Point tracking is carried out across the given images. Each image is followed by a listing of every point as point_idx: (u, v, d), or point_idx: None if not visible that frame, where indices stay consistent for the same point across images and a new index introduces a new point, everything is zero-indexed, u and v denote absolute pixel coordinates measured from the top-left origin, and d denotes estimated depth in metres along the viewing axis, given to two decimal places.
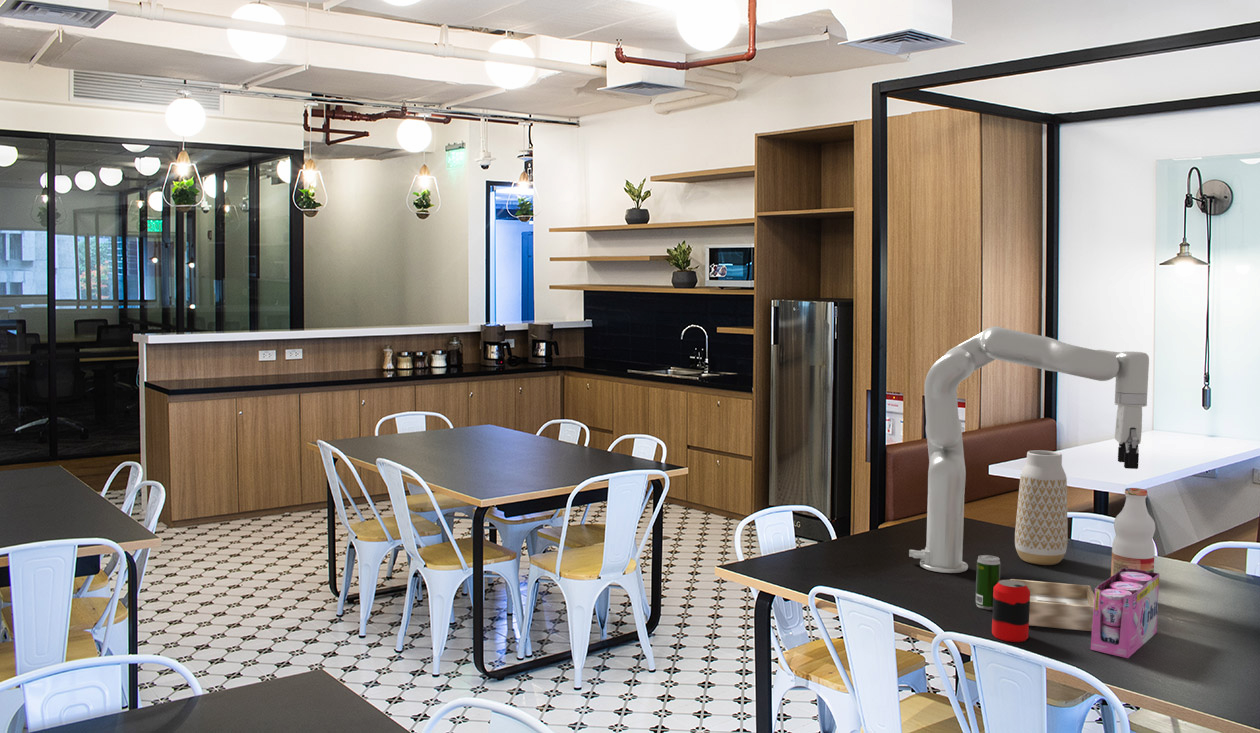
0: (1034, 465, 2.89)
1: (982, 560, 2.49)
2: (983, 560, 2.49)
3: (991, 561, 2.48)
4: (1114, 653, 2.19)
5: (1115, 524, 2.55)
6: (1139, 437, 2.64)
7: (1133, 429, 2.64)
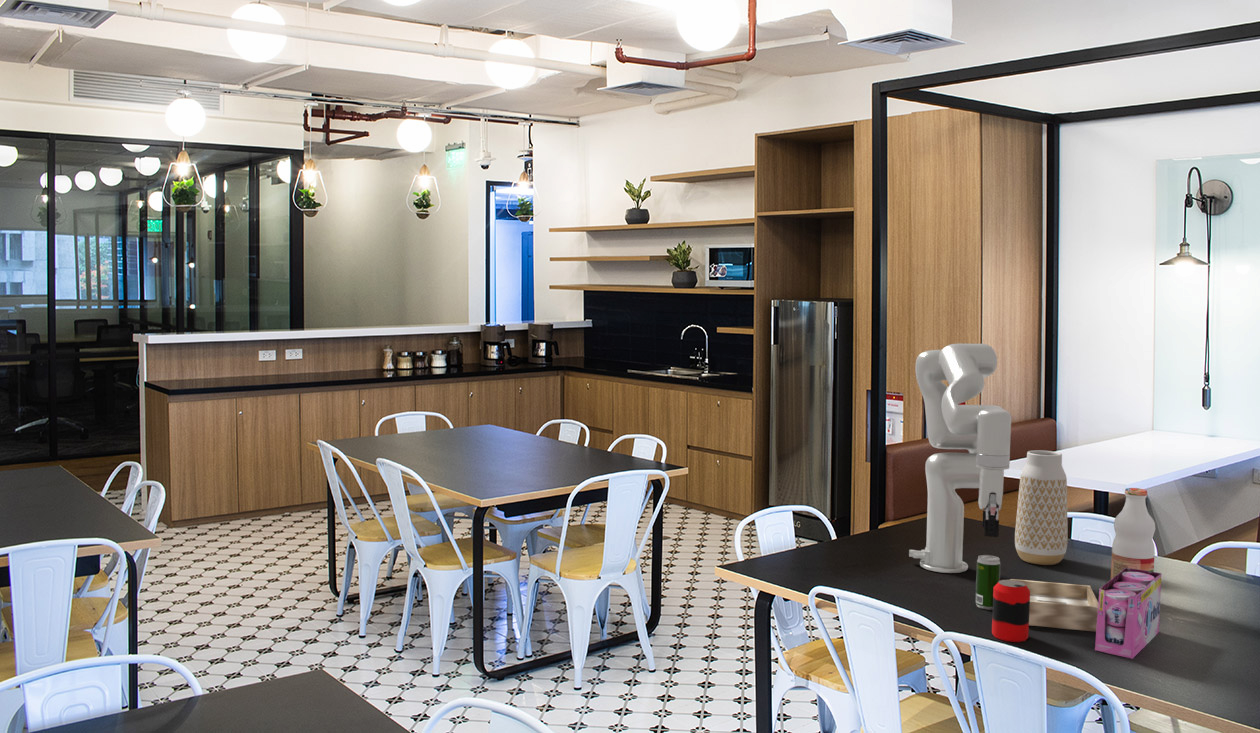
0: (1034, 465, 2.89)
1: (982, 560, 2.49)
2: (983, 560, 2.49)
3: (991, 561, 2.48)
4: (1119, 654, 2.19)
5: (1115, 524, 2.55)
6: (999, 503, 2.44)
7: (993, 494, 2.44)
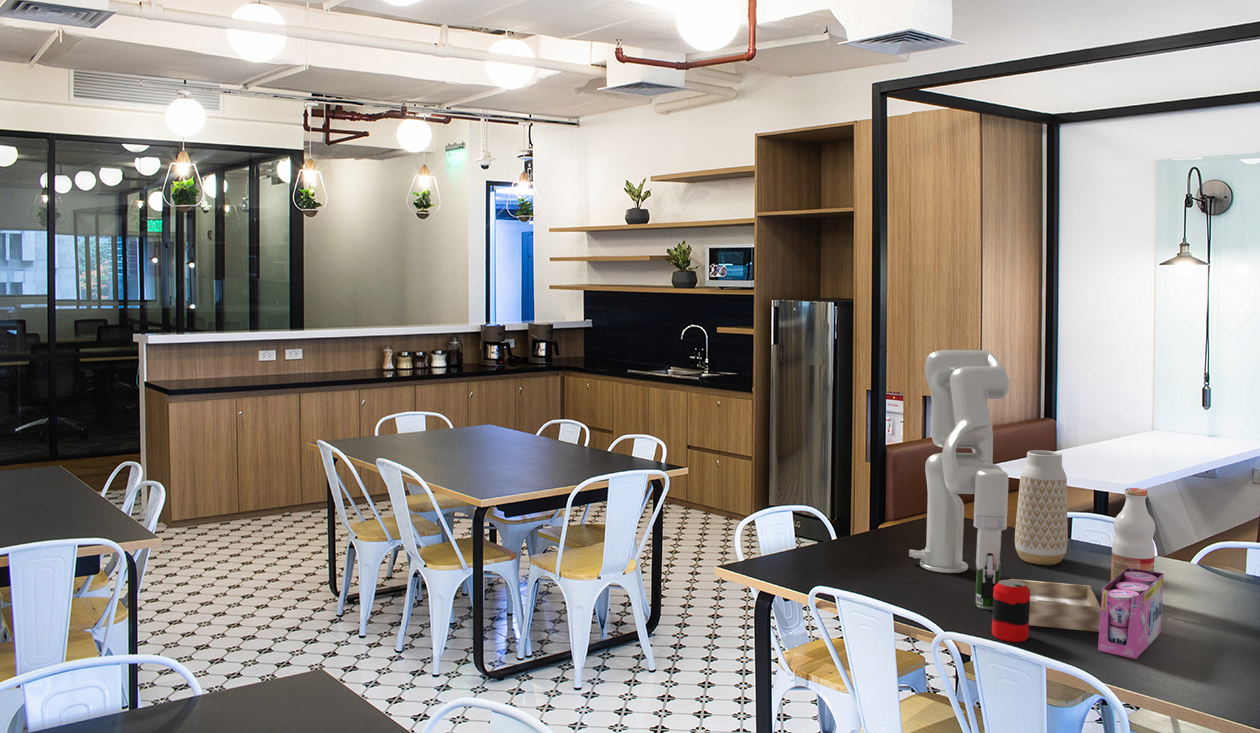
0: (1034, 465, 2.89)
1: None
2: None
3: None
4: (1122, 654, 2.18)
5: (1115, 524, 2.55)
6: (996, 564, 2.45)
7: (990, 557, 2.45)
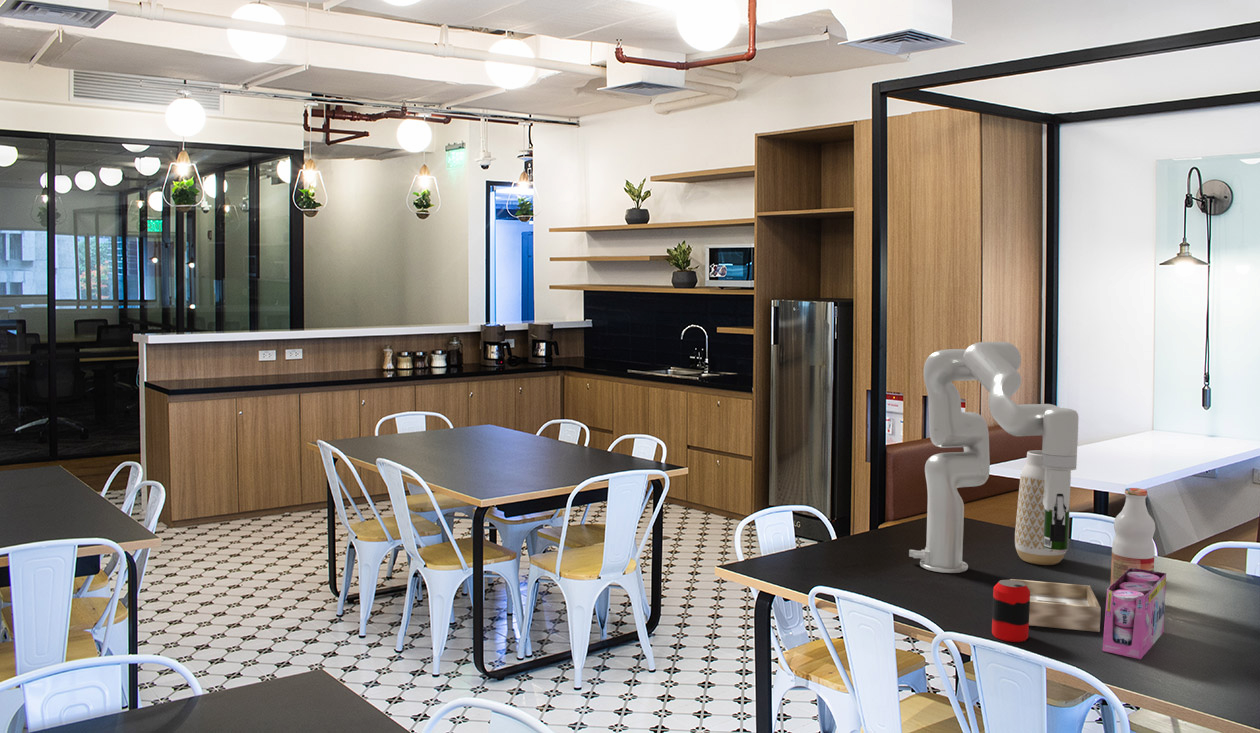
0: (1034, 465, 2.89)
1: None
2: None
3: None
4: (1127, 654, 2.18)
5: (1115, 524, 2.55)
6: (1067, 504, 2.37)
7: (1060, 498, 2.38)
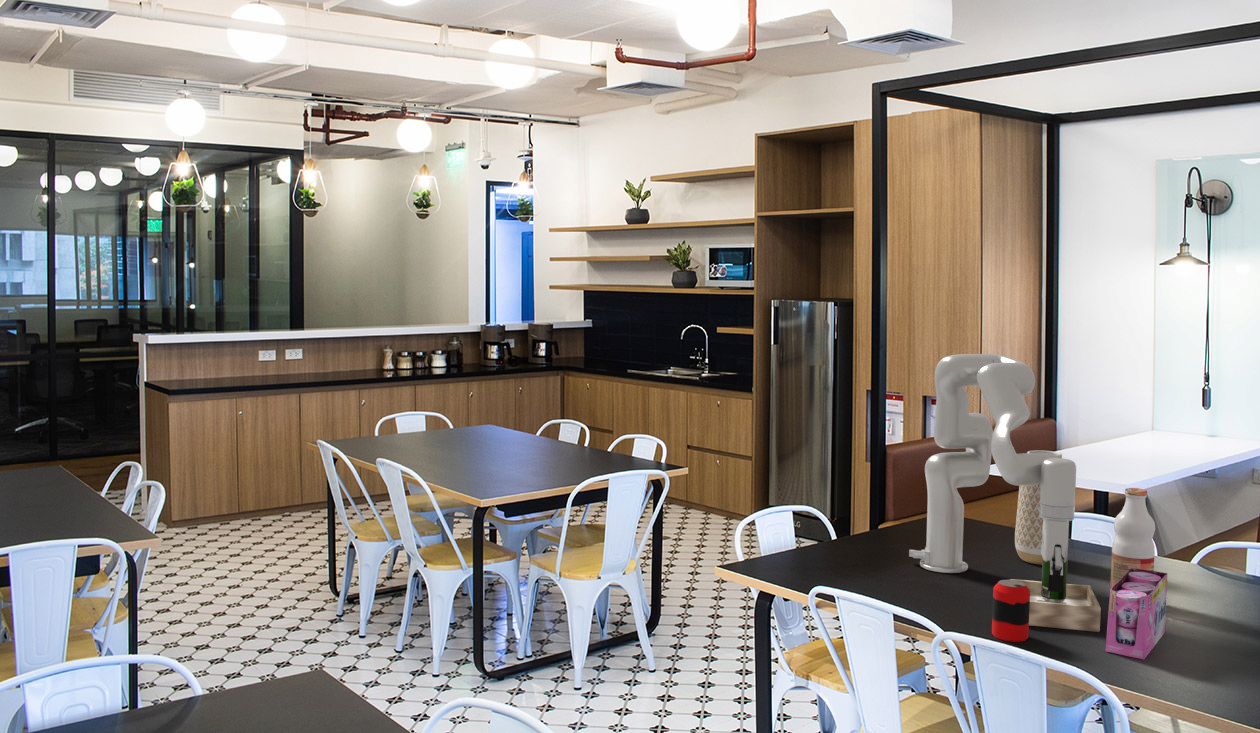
0: None
1: None
2: None
3: None
4: (1130, 654, 2.18)
5: (1115, 524, 2.55)
6: (1065, 555, 2.38)
7: (1058, 549, 2.38)
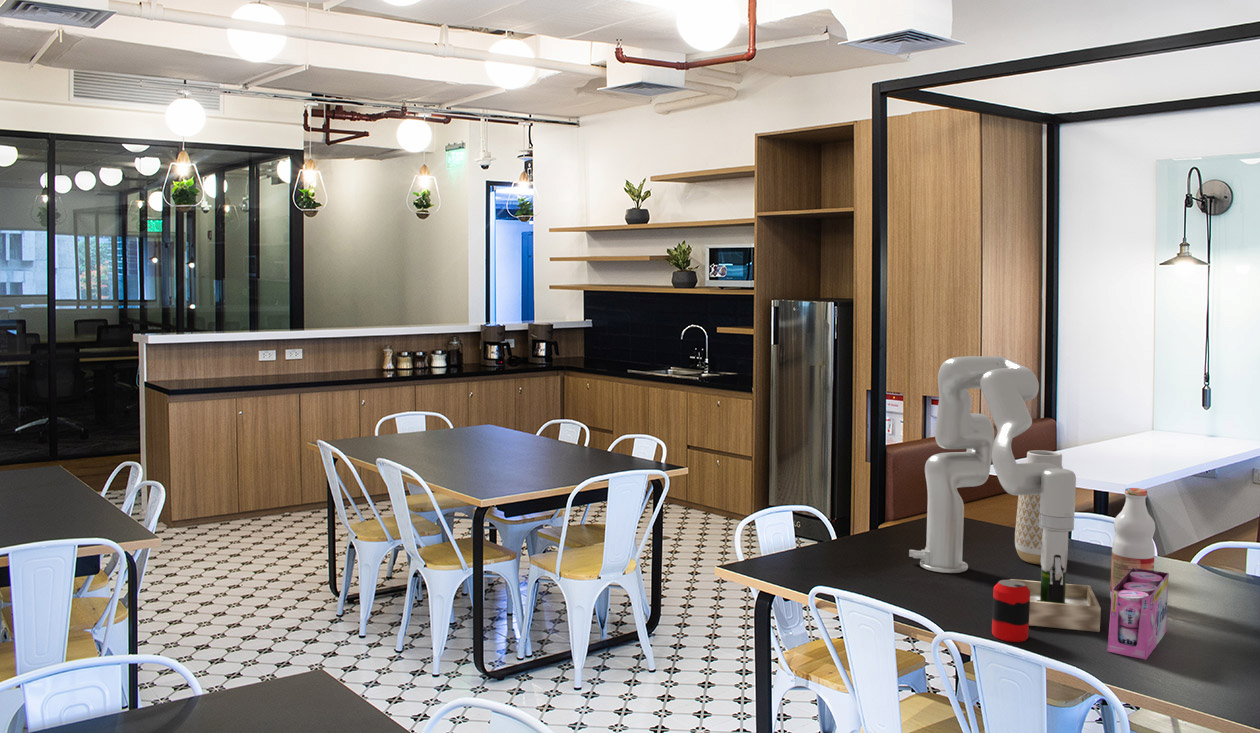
0: None
1: None
2: None
3: None
4: (1132, 655, 2.18)
5: (1115, 524, 2.55)
6: (1064, 566, 2.39)
7: (1057, 558, 2.39)
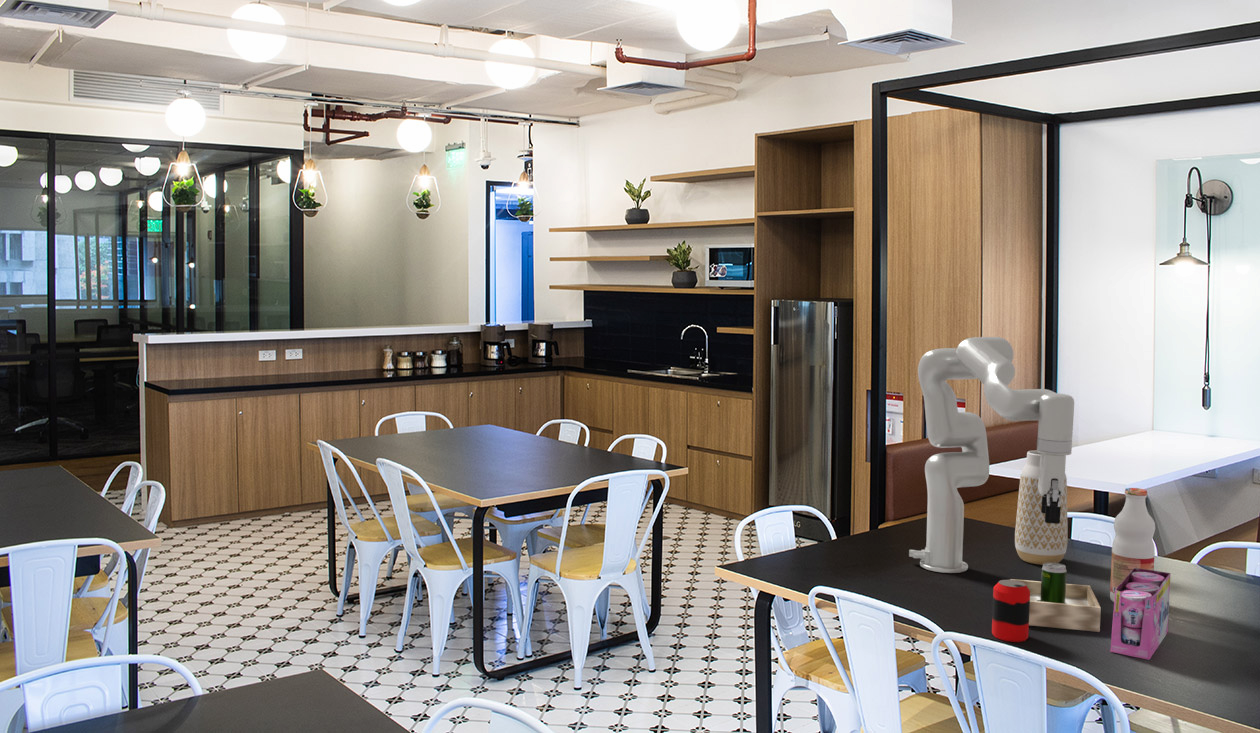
0: (1034, 465, 2.89)
1: (1048, 568, 2.43)
2: (1049, 568, 2.42)
3: (1057, 569, 2.42)
4: (1135, 655, 2.18)
5: (1115, 524, 2.55)
6: (1061, 489, 2.39)
7: (1055, 480, 2.39)
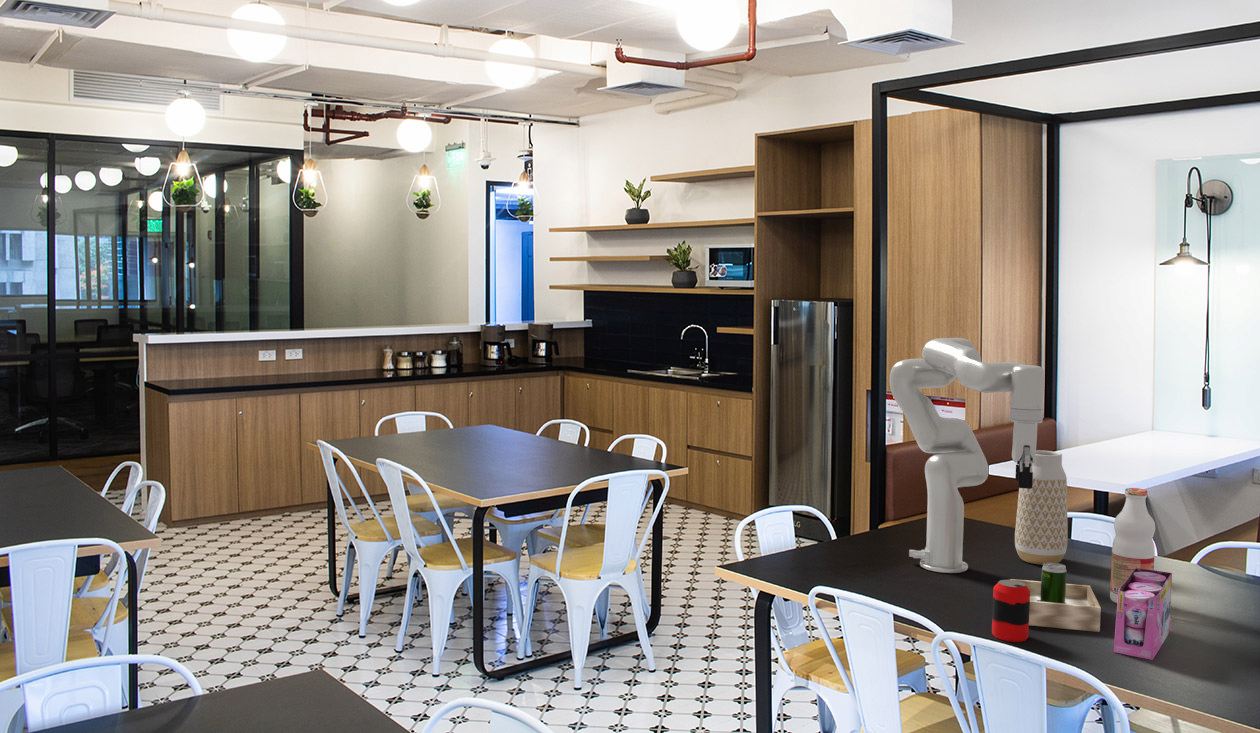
0: (1034, 465, 2.89)
1: (1048, 568, 2.43)
2: (1049, 568, 2.42)
3: (1057, 569, 2.42)
4: (1138, 655, 2.18)
5: (1115, 524, 2.55)
6: (1033, 455, 2.51)
7: (1027, 447, 2.51)
